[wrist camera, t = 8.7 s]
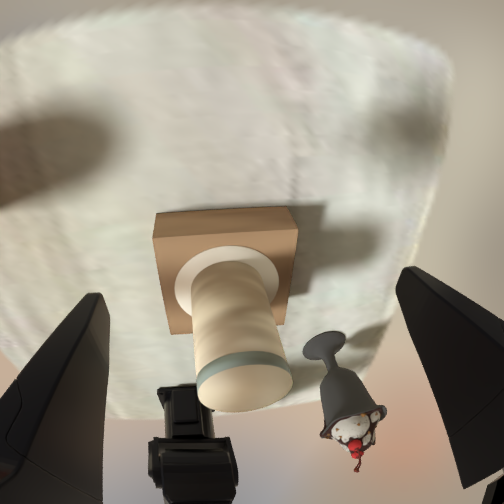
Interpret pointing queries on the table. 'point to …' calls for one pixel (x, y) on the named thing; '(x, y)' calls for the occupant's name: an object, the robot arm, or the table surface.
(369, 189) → the table surface
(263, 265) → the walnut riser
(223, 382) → the birch cylinder
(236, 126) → the table surface
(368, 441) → the sundae
